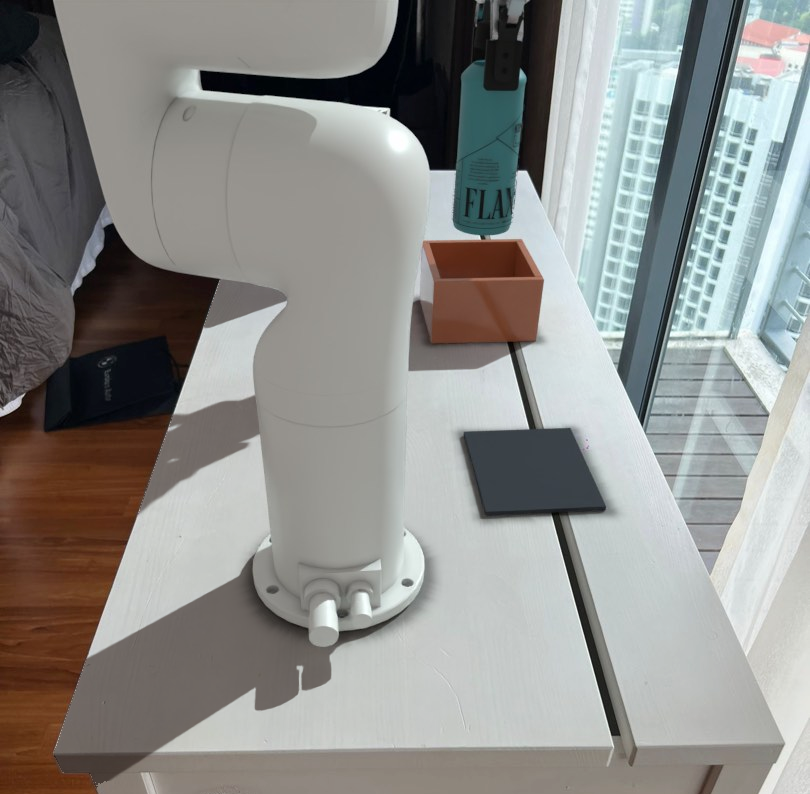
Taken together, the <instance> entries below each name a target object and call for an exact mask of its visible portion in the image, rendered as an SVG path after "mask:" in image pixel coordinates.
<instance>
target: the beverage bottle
mask: <svg viewBox="0 0 810 794" xmlns="http://www.w3.org/2000/svg"><path fill="white" fill-rule="evenodd" d="M476 27H477V30H476V37H475V42H474V46H475V47H476V48H480V49H485V50H486V40H490V20H484V21H480V22H478V24H477V26H476ZM484 66H485V60H479V61H475V62H473V63H472V64H471V63H470V65H469V66H468V67H467V68H466V69H464V70H463V72H462V73H461V76H460V81H461V84H460V85H461V86H460V87H461V88H460V103H459V104H460V105H459V118H458V119H459V122H458V124H459V125H458V137H457V156H456V163H455V164H454V166H455V170H454V174H455V176H454V185H453V194H452V197H453V198H452V202H451V204H452V208H451V214H452V215H451V220H452V225H453V227H454V228H455V229H456V230H458V231H459V232H462V233H464V234H468V235H472V236H473V235H474V236H481V237H482V236H497V235H501V234H504V233H506V232H508V231H509V230H510V227H511V225H512V224H513V222H514V221H513V219H514V210H515V206H514V205H515V204H516V203H515V202H516V198H515V196H516V195H517V188H516V186H518V185H517V184H518V181H517V177H518V174H519V164H518V161H519V160H518V159H519V158H520V155H519V153H520V148H521V147H520V146H521V145H520V144H521V142H522V136H523V128H524V119H523V113H524V111H525V109H526V108H525V107H524V99H525V89H526V83H527V76H526V74H525V72H524V71H523V70H522V68H521V67H520V76H519V86H518V89H517V90H516V91H487V90H485V89H484V87H483V80H484Z"/></svg>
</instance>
